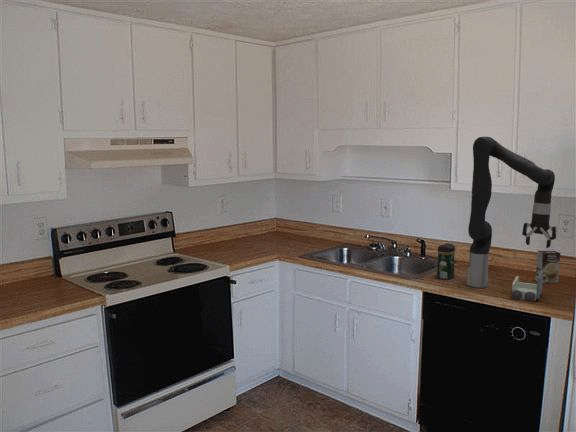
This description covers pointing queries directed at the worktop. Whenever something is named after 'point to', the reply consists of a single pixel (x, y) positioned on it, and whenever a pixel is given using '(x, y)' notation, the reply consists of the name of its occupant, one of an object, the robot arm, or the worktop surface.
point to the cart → (523, 290)
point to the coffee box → (548, 266)
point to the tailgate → (539, 284)
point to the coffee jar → (446, 261)
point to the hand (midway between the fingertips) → (537, 246)
